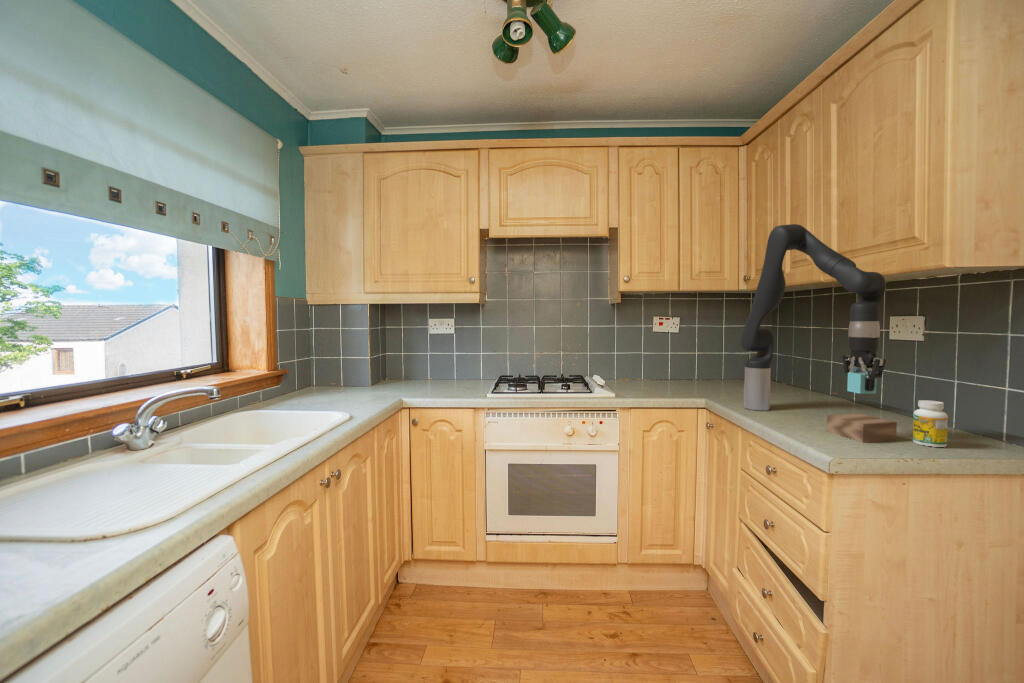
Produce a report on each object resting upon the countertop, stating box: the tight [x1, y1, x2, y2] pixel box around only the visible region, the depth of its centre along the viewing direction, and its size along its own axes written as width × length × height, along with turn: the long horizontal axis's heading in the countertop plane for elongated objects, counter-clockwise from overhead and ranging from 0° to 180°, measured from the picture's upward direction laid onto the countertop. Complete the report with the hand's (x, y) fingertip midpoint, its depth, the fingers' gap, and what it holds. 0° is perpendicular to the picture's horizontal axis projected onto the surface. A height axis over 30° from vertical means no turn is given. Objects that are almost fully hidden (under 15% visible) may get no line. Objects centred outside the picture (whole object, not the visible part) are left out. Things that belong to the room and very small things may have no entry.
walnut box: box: [826, 413, 898, 444], centre depth 133 cm, size 12×12×6 cm
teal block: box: [846, 371, 878, 395], centre depth 132 cm, size 5×5×6 cm
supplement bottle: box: [912, 399, 949, 448], centre depth 124 cm, size 7×7×13 cm
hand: (861, 389), depth 132 cm, fingers closed on teal block, 5 cm apart
